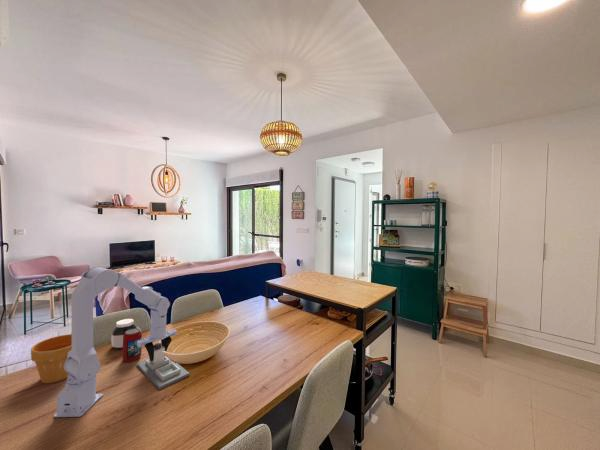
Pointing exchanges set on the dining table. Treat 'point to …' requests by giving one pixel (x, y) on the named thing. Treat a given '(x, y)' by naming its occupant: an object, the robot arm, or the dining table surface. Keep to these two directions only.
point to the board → (163, 372)
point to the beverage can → (131, 344)
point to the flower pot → (52, 357)
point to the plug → (158, 354)
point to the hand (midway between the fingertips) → (157, 357)
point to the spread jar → (121, 332)
